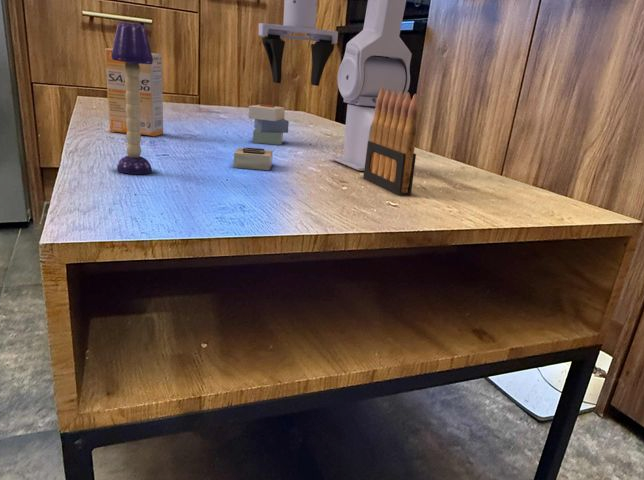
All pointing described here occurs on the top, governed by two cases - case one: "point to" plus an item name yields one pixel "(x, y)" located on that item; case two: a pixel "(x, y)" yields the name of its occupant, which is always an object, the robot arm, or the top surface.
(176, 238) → the top surface
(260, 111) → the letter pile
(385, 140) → the ammunition clip
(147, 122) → the supplement box
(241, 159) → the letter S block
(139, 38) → the toy lamp
